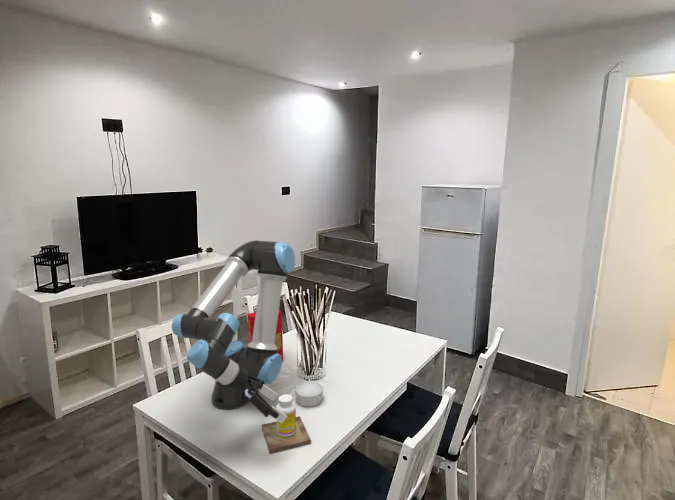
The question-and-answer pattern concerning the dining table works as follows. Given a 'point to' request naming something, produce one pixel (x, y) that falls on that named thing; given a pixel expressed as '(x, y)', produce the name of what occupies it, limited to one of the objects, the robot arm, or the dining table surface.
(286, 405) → the supplement bottle
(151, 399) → the dining table surface
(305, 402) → the ramekin
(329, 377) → the dining table surface
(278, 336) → the food packaging
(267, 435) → the walnut plinth
